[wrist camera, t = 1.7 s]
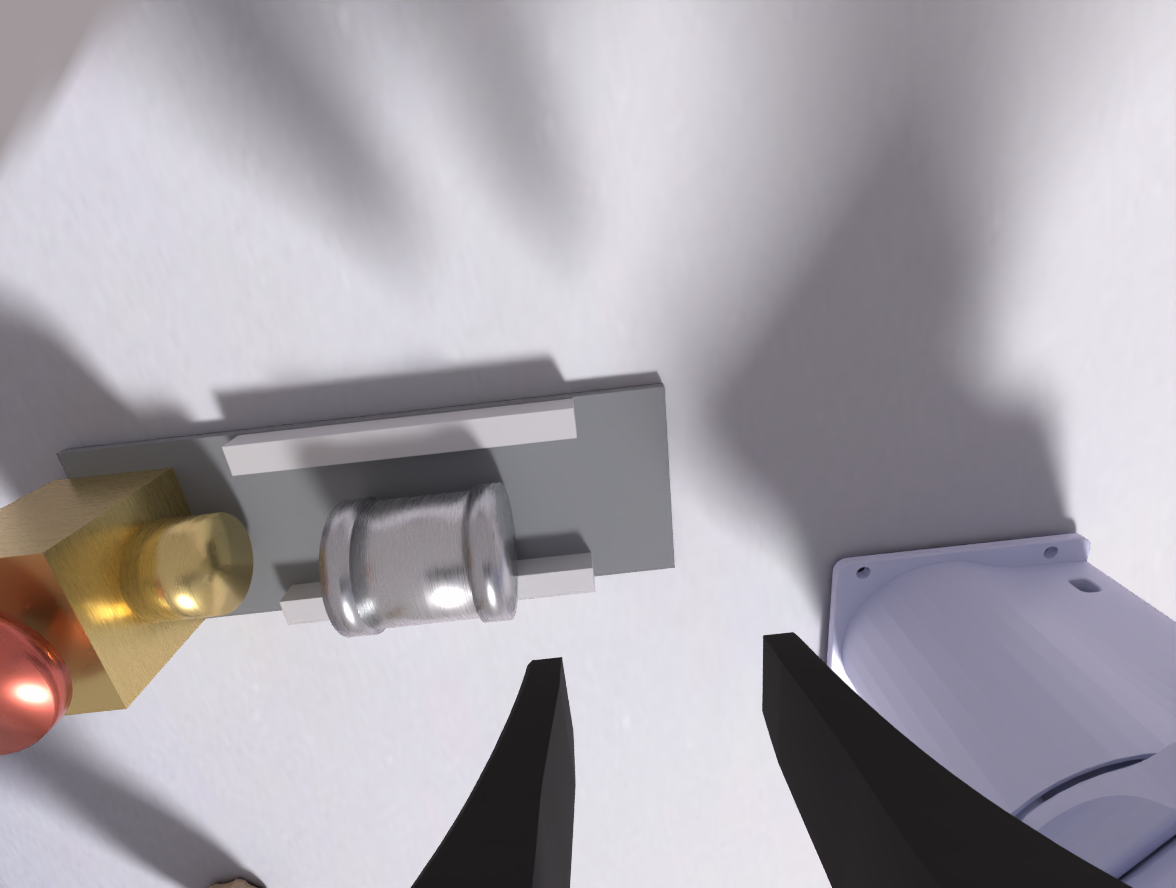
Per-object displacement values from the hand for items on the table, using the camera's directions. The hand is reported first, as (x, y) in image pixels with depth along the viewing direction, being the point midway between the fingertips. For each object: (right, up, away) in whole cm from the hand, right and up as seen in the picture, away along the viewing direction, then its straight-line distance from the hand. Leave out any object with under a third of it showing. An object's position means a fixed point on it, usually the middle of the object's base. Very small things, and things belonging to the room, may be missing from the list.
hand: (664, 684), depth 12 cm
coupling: (-7, +3, +8) cm, 11 cm away
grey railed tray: (-9, +3, +9) cm, 13 cm away
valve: (-17, +2, +9) cm, 19 cm away
